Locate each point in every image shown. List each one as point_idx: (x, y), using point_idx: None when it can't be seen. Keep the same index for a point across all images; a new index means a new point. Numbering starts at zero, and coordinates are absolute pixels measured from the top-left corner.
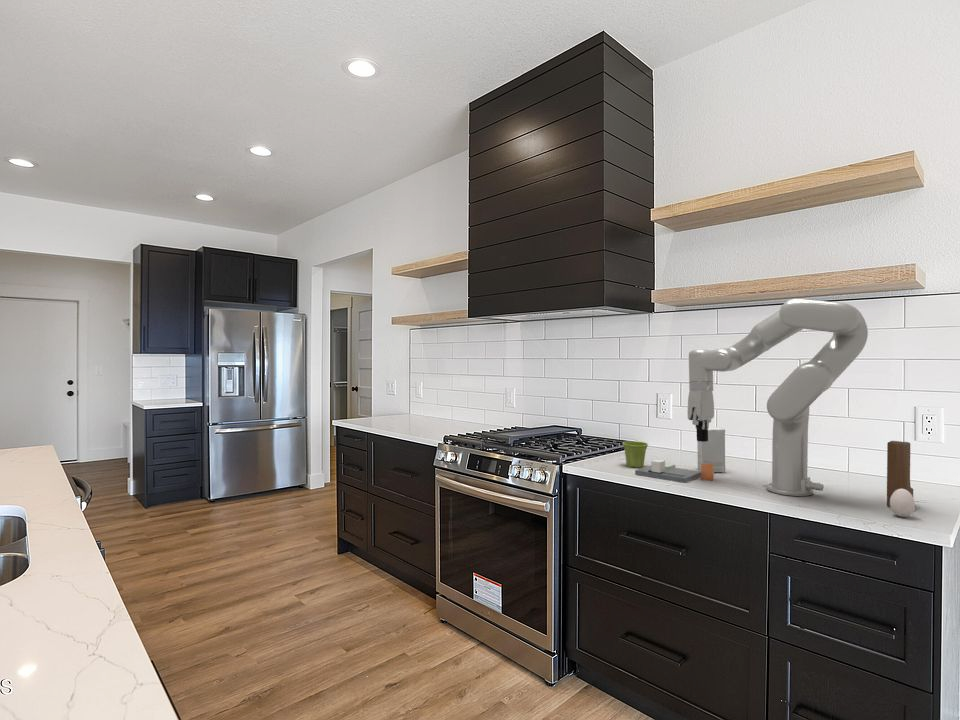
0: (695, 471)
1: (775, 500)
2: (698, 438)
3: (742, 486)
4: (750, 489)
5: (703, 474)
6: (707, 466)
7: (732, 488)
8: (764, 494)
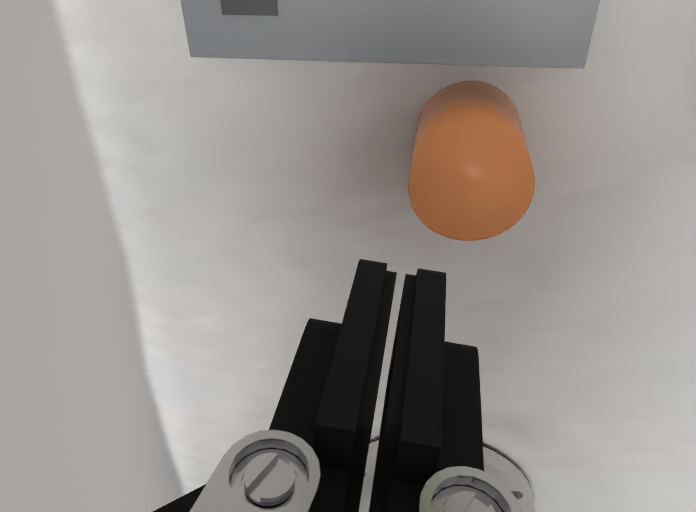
0: (551, 5)
1: None
2: (311, 319)
3: (392, 346)
4: None
5: (418, 133)
6: (412, 200)
7: (302, 318)
8: None
